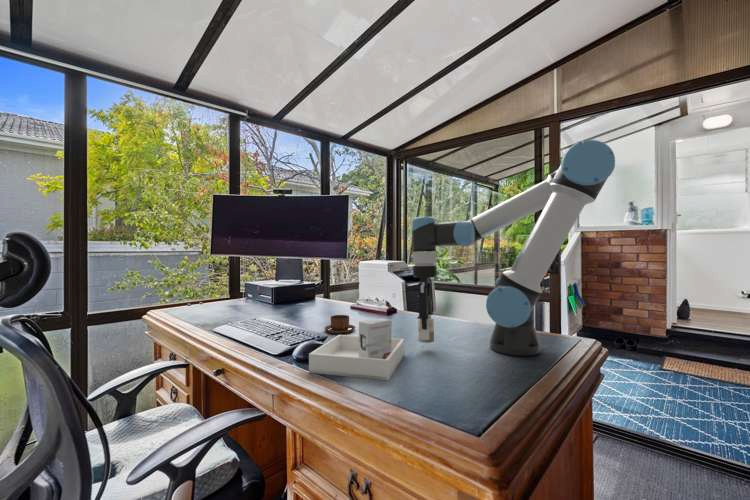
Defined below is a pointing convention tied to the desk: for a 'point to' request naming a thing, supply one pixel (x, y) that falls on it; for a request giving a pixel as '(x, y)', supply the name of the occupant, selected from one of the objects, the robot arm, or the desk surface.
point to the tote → (354, 359)
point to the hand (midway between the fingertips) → (426, 336)
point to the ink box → (375, 338)
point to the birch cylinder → (431, 331)
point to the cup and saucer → (339, 324)
